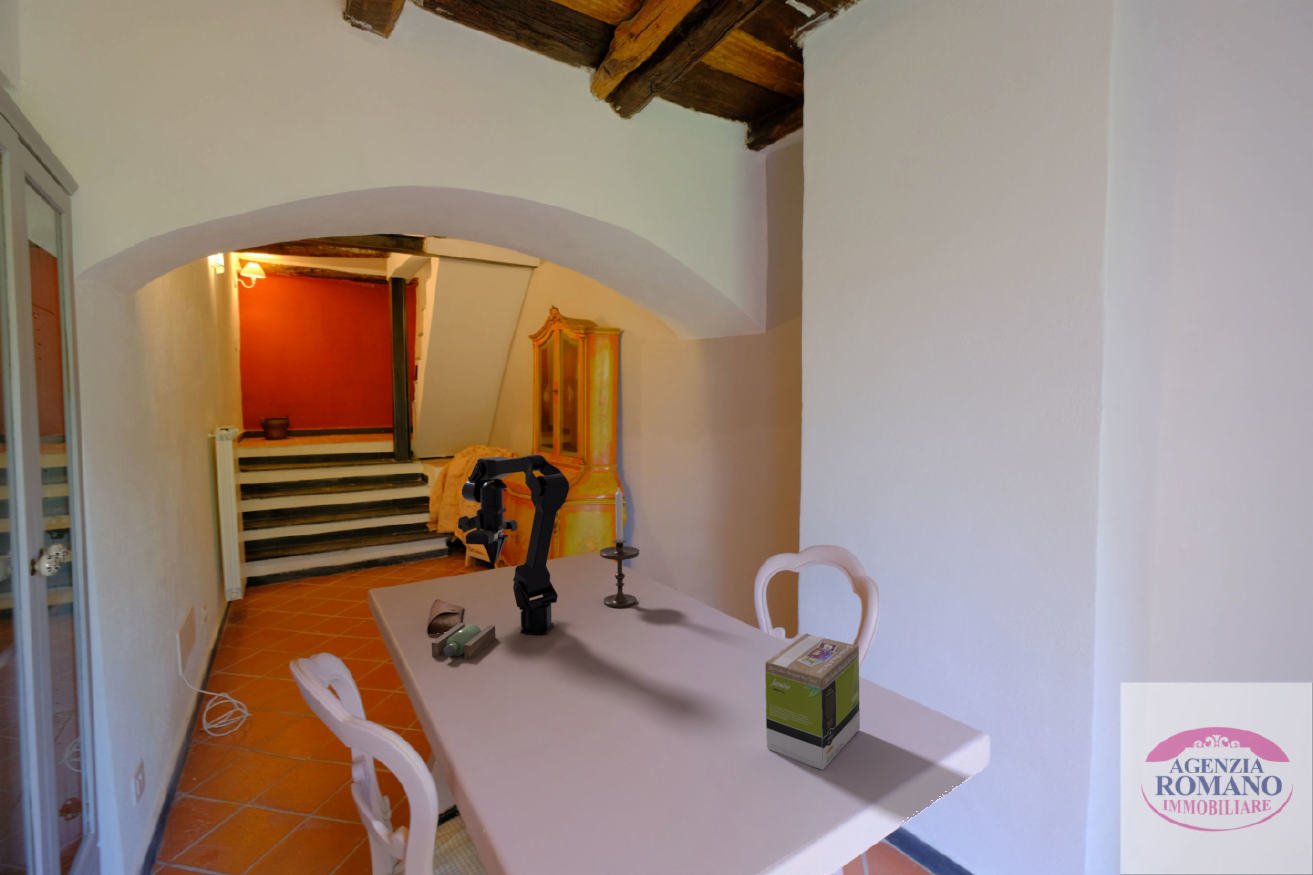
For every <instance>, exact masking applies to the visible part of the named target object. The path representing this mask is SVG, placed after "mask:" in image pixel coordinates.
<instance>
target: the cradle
mask: <svg viewBox="0 0 1313 875" xmlns="http://www.w3.org/2000/svg"><path fill="white" fill-rule="evenodd" d="M465 626H466V623H463V622H462V623H458V624H457V625H456V626H454V627H453V628H451V629H450V630H449V631H447V632H446V633H443V634H441V635H440V636H439V637H437V638H436V639H434V640H433V641H432V642H431V656H432V657H440V656H441V655H442V654H444V651H443V650H444V648H445V647H446V646H447V640H448V639H449V638H450V637H451V636H452V635H454V634H455V633H457V632H458V631H460V630H461V629H462V628H464V627H465ZM495 639H496V625H495V624H488V625H487V626H486V627H485V628H483V629H482V630H481V632H480V633H479V634H477V635H476V636H475V637H473V638H472V639H471V640H470V641H468V642H467V643H466V644H465V645H464V653H463V656H464V659H466V660H471V659H473V658H474V657H475V656H476V655H478V654H479V653H480V652H481V651H482V650H483V649H485V648H486V645H487V644H488V645H490V643H491V642H492V641H494V640H495ZM488 645H487V646H488Z"/></svg>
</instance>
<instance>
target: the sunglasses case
mask: <svg viewBox="0 0 1313 875" xmlns="http://www.w3.org/2000/svg"><path fill="white" fill-rule="evenodd" d="M463 610H464V611H465V607H463V606H459V605H456V604H452V603H448V602H446V601H444V600H442V599H438V598H437V599H435V600H434V601H433V603H432V605H431V609H430V613H429V616H428V621H427V625H426V626H427V627H426V632H427V634H428V635H429V636H431V635H430V634H435V635H438V634H437V633H443V634H444V632H447V631H449V630H450V629H451V628H453V627H454V626H456V625H457V624H458V623H463V622H462V621H463V620H462V619H463V614H464V613H463V612H464V611H463ZM462 613H463V614H462Z"/></svg>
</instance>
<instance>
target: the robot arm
mask: <svg viewBox="0 0 1313 875" xmlns="http://www.w3.org/2000/svg"><path fill="white" fill-rule="evenodd" d="M534 472H539V473H540V474H542V475H538V476H536V474H534ZM514 473H524V475H525V477H524V478H525V480H524V484H525V485H526V486H527V489H529V491H530V492H531V493H530V499H531V501H532V503H533V506H534V508H535V510H534V516H533V520H532V527H531V532H530V536H529V543H528V548H527V554H526V558H525V562H524V563H523V564H520V565H516V567H515V569H514V576H513V579H512V582H513V587H512V588H513V590H512V591H513V593H514V599H515V603H516V607H517V608H519V610H520V628H521V629H520V631H519V632H520V634H528V635H529V634H531V635H542V636H543V635H544V636H545V635H547V634H548V633H549V632H550V631H551V629H552V628H554V627H555V623H553V622H552V618H553V617H552V604H554V603H555V604H556V603H557V602H558V597H559V596H558V593H557V591H556V589H555V587H554V585H553V584H552V582H551V573H550V571H549V569H548V567H547V563H548V557H549V552H550V548H551V542H552V538H553V530H554V527H555V522H556V517H557V512H558V511H559V510H560V509H561V508H562V506H563V505H564V504H565V503H566V500H567V497H568V495H569V491H570V482H569V480H568V479H567V477H566V476H565V474H563V472H562V471H561V470H560V468H558V467H556V466H555V465H554V464H552V463H550V462H548V461H547V459H546V458H545V456H543V455H542V454H530V455H528V454H527V455H523V456H521V457H512V458H507V457H504V456H491V457H480V458H478V459H477V460H476V463H475V465H474V467H473V469H472V472H471V474H470V476H468V477H467V481H466V482H464V484H463V486H462V489H461V495H462V497H463V498H464V499H465V500H466V501H469V502H473V503H474V502H475V503H479V504H480V508H479V509H477V510H476V515H474V516H472V517H469V516H468V515H464V516H461V517H459V518H458V520H457V524H458V525H457V529H459V530H461V531H462V533H463V534H465V533H467V534H466V535H465V536H464V538H465V543H464V544H466V545H480V546H481V545H483V547H484V549H485V551H486V552H485V553H486V554H487V557H488V560H489V563H490V564H491V565H495V564H496V563H497V561H498V559H499V557H500V555H501V553H502V549H503V547H504V546H505V543H506V542H507V539H508V538H509V534H505V533H504V532H503V531H505V530H510V532H515V531H517V530H518V522H517V521H516V520H515V519H510V518H509V519H508V518H507V519H506V518H505V519H504V513H506V512H507V507H504V490H505V489H508V486H507V484H506V483H505V482H504V481H503V480H502V479H503V478H506V477H507V476H510V474H514ZM540 596H541V597H540ZM535 597H536V598H535ZM533 598H534V599H533Z"/></svg>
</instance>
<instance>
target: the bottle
mask: <svg viewBox="0 0 1313 875" xmlns="http://www.w3.org/2000/svg"><path fill="white" fill-rule="evenodd" d="M481 631H482V630H481V628H480V627H479V626H478V625H476V624H475V623H469V624H467V625H465V627H464V628H462V629H461V630H460V631H458V632H457V633H455V634H454V635H452V636H451V637H450V638H449V639H448V640H447V646H446V647H445V648H444V650H443V651H444V652H443V654H444V656H446V657H449V658H450V657H452V656H455V655H457V656H456V657H459V656H462V655H464V645H465V644H466V643H467V642H468V641H470V640H471V639H472V638H473V637H475V636H476V635H477V634H479V633H480V632H481Z"/></svg>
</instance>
